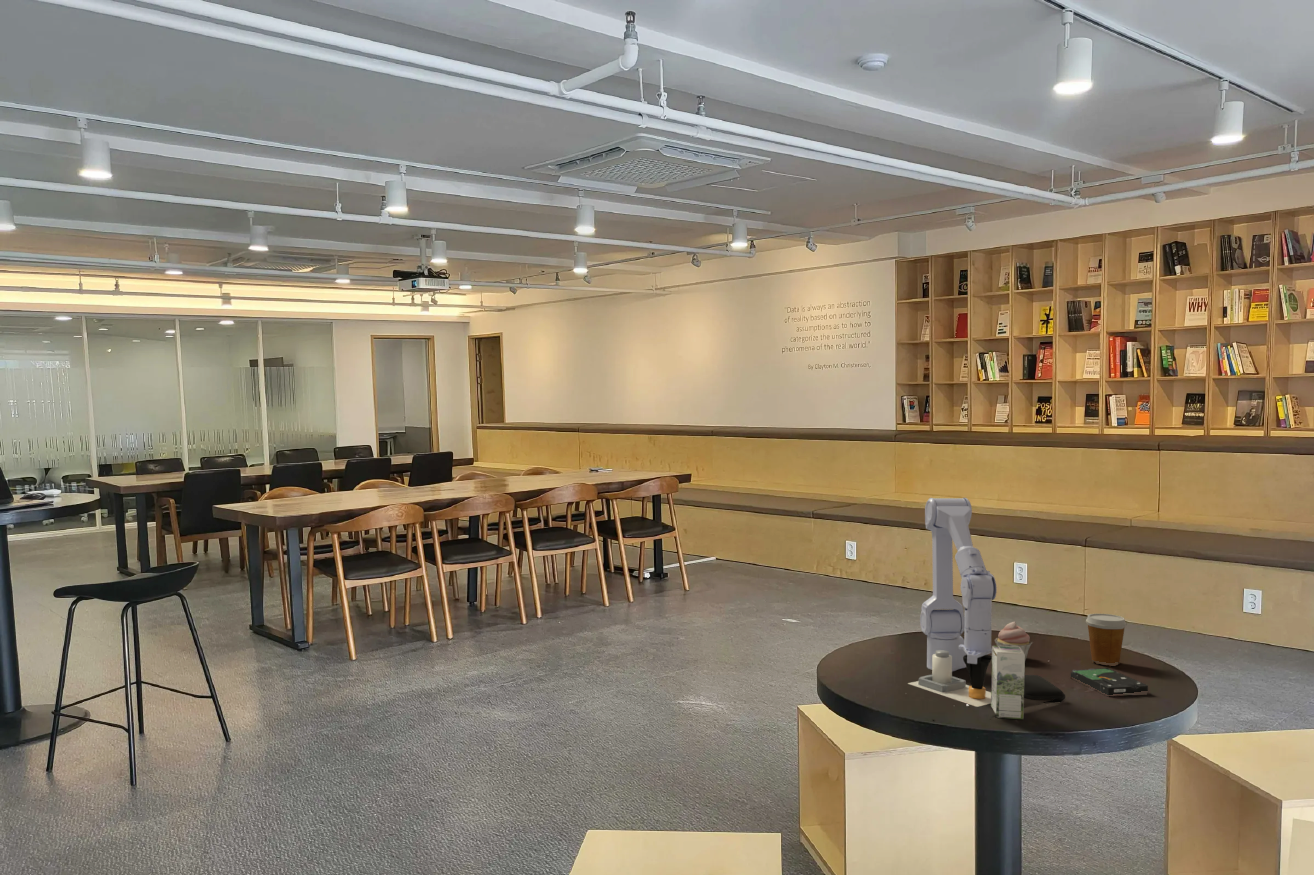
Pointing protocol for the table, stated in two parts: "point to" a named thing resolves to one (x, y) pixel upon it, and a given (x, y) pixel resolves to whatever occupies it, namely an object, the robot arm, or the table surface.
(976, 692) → the orange short cylinder
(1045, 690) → the carrying case or bag
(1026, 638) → the cupcake
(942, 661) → the cylinder
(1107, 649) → the disposable coffee cup
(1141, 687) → the disk drive
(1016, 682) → the syrup box
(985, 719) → the table surface
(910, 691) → the table surface
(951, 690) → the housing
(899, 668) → the table surface
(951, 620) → the robot arm
